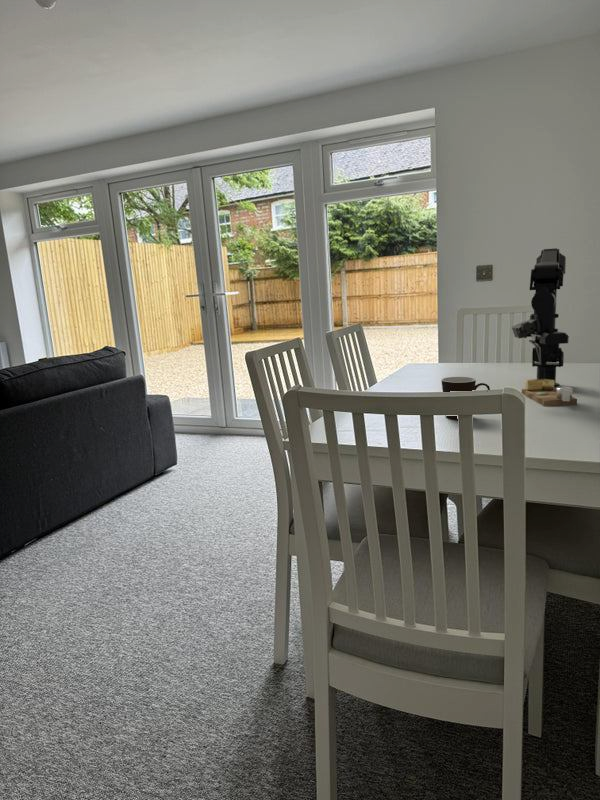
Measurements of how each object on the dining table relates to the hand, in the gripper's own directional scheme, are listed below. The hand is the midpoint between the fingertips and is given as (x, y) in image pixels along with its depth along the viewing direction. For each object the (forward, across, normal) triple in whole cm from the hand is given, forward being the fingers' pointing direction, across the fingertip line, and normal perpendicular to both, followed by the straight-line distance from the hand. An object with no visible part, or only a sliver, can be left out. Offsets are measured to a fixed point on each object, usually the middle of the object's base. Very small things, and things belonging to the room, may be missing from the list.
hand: (542, 365), depth 163 cm
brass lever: (+8, -6, +2) cm, 10 cm away
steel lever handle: (+8, +8, +3) cm, 12 cm away
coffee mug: (+10, +17, -27) cm, 33 cm away
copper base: (+10, 0, +2) cm, 10 cm away
